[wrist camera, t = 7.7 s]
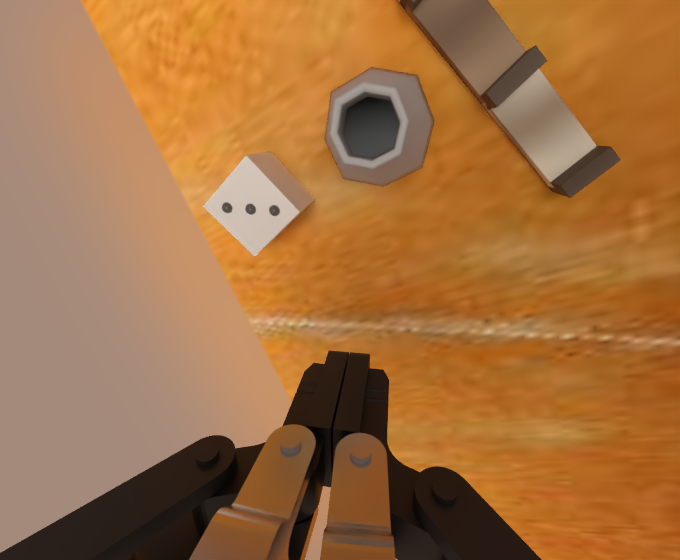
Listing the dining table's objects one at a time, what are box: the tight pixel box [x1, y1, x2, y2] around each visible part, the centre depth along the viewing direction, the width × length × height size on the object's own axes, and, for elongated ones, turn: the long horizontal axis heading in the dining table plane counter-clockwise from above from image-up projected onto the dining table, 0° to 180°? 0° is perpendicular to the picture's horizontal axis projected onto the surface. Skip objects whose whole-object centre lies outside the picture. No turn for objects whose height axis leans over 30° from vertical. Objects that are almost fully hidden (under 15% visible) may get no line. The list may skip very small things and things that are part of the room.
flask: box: [325, 67, 434, 186], centre depth 18 cm, size 7×7×10 cm
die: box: [203, 152, 315, 257], centre depth 23 cm, size 5×5×5 cm
